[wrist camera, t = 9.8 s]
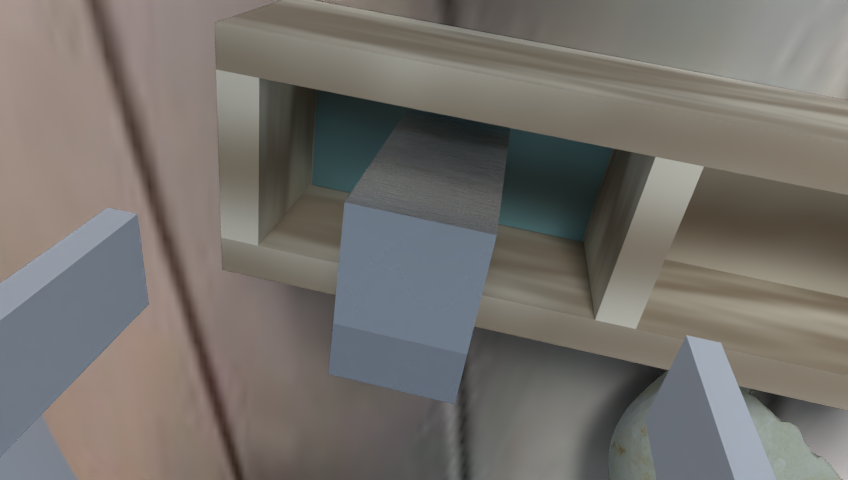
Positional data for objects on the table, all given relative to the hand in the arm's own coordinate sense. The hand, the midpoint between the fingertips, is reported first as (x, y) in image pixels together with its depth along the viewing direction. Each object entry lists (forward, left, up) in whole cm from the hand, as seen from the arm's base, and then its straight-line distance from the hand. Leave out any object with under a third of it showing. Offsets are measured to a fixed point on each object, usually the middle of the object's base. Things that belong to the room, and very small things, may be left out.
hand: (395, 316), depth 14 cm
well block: (0, +7, -14) cm, 16 cm away
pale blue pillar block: (0, 0, -13) cm, 13 cm away
